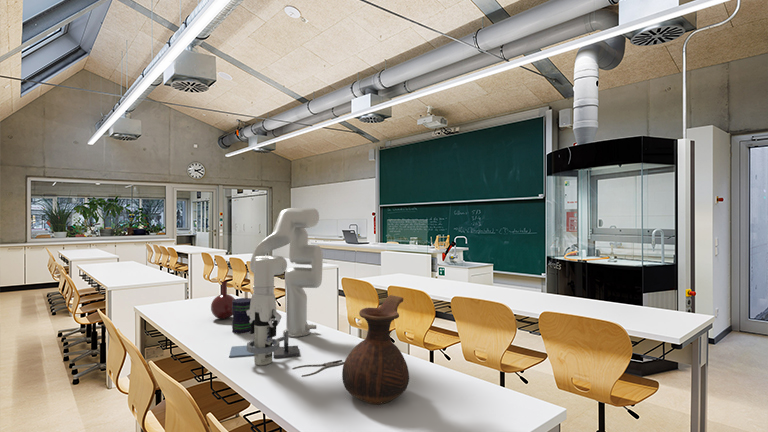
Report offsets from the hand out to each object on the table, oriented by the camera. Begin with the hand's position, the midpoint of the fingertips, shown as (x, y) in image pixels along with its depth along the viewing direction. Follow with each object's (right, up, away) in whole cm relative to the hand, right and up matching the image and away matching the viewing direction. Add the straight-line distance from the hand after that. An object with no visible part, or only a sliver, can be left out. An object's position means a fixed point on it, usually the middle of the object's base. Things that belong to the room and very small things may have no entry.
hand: (263, 334), depth 159 cm
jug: (+44, -12, -27) cm, 53 cm away
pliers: (+22, -12, -3) cm, 25 cm away
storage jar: (-22, -10, +43) cm, 49 cm away
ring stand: (+3, -11, +5) cm, 12 cm away
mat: (-11, -11, +13) cm, 20 cm away
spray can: (0, -11, 0) cm, 11 cm away
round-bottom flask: (-40, -10, +65) cm, 77 cm away
